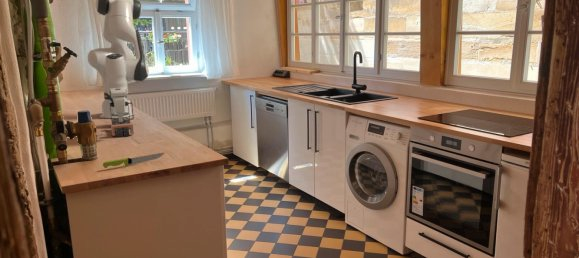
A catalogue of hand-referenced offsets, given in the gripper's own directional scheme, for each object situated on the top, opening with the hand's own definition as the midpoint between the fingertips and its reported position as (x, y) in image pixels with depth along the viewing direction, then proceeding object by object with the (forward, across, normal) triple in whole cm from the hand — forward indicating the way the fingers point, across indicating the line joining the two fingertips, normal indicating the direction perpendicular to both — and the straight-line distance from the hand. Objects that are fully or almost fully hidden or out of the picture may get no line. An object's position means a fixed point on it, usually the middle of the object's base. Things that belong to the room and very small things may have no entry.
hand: (120, 119), depth 202 cm
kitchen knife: (+7, +50, +2) cm, 51 cm away
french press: (+8, -24, +1) cm, 25 cm away
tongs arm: (+8, -4, +2) cm, 9 cm away
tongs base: (+8, -6, 0) cm, 10 cm away
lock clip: (+7, 0, 0) cm, 7 cm away
